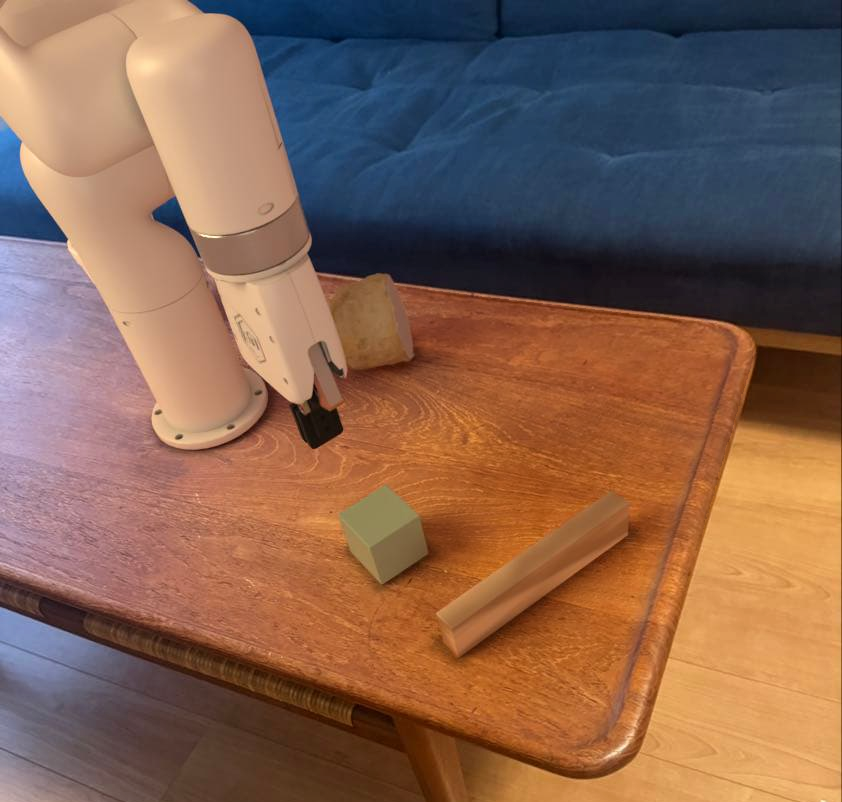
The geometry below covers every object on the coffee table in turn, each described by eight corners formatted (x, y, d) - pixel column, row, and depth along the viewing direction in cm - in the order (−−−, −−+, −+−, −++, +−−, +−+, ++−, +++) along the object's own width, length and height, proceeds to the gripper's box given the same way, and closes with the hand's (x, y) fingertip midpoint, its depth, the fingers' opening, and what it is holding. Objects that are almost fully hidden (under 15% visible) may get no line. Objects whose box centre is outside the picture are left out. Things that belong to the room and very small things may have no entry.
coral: (433, 322, 80) (332, 301, 78) (408, 395, 88) (316, 377, 86) (433, 263, 86) (339, 241, 84) (410, 336, 94) (323, 318, 92)
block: (350, 552, 72) (337, 514, 68) (396, 522, 73) (385, 483, 70) (381, 585, 69) (369, 547, 65) (429, 553, 70) (419, 515, 67)
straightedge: (443, 641, 64) (435, 612, 61) (611, 522, 69) (611, 489, 66) (458, 658, 63) (451, 629, 60) (628, 535, 68) (629, 502, 65)
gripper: (160, 223, 58) (245, 418, 72) (254, 297, 49) (331, 506, 63) (250, 180, 61) (316, 378, 74) (356, 244, 51) (410, 457, 65)
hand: (323, 436), depth 68 cm, fingers closed
